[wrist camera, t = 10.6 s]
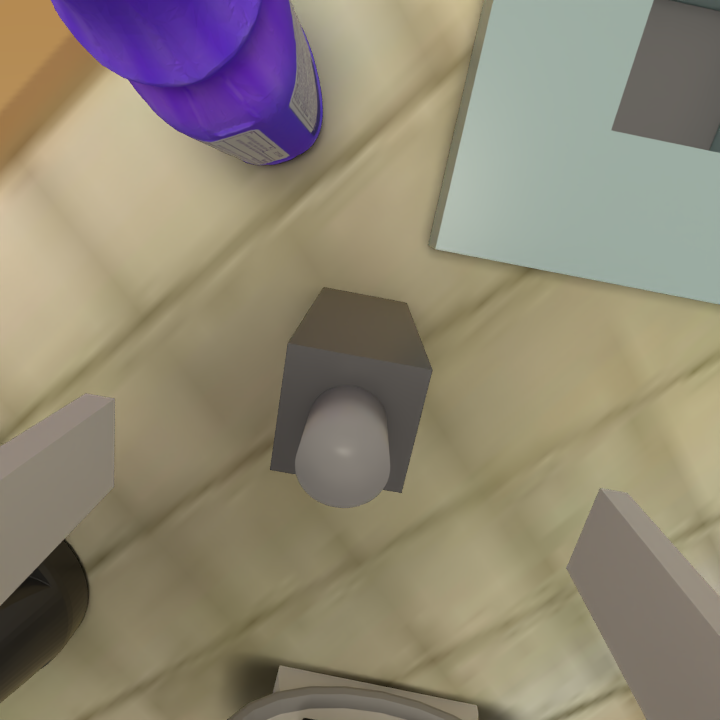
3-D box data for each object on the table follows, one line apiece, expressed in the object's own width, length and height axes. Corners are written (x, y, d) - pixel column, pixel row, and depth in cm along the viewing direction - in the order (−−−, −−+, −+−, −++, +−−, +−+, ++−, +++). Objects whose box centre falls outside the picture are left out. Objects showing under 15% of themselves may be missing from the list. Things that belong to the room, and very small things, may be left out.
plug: (311, 365, 28) (248, 522, 14) (323, 287, 27) (268, 373, 12) (389, 379, 28) (407, 549, 14) (406, 302, 27) (446, 405, 12)
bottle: (191, 30, 23) (-298, -468, 6) (298, -6, 22) (80, -664, 5) (239, 179, 25) (-25, 113, 8) (338, 150, 24) (268, 16, 8)
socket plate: (428, 245, 26) (435, 249, 23) (534, -224, 19) (563, -299, 17) (761, 309, 26) (808, 321, 23) (968, -123, 20) (1066, -178, 17)
